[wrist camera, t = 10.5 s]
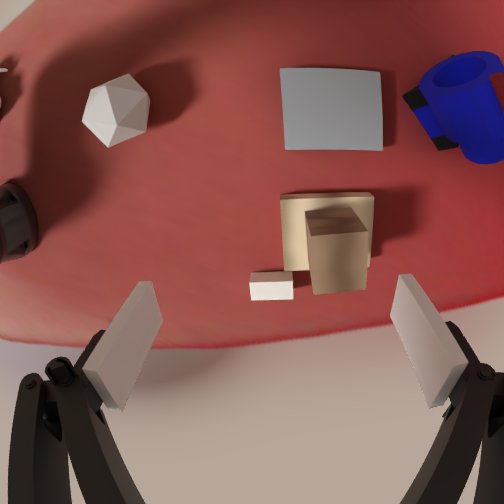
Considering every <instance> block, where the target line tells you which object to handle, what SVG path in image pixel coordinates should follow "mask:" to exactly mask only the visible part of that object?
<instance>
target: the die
mask: <svg viewBox="0 0 504 504" xmlns="http://www.w3.org/2000/svg"><path fill="white" fill-rule="evenodd" d="M149 108H150V98H149V96H148V94H147V92H146V91H145V90H144V89H143V88H142V87H141V86H140V85H139V84H138V83H137V82H136V81H135V80H134V79H133V77H132V76H131V75H130V74H129V73H128V74H126V75H123V76H121V77H118V78H116V79H113V80H111V81H109V82H106V83H104V84H102V85H100V86H97V87H95V88H93V89H91V91H90V94H89V97H88V101H87V104H86V107H85V111H84V115H83V118H82V122H83V123H84V124H85V125H86V126H87V127H88V128H89V129H90V130H91V131H92V132H93V133H94V134H95V135H96V136H97V137H98V138H99V139H100V140H101V141H102V142H103V143H104V144H105V145H106V146H107V147H108V148H109V147H111V146H113V145H115V144H118V143H120V142H122V141H125V140H127V139H130V138H132V137H135V136H137V135H140V134H142V133H145V132H146V129H147V122H148V114H149Z"/></svg>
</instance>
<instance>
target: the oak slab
mask: <svg viewBox="0 0 504 504" xmlns="http://www.w3.org/2000/svg"><path fill="white" fill-rule="evenodd" d="M280 205H281V221H282V238H283V257H284V271H298V270H310V269H309V264H308V252H307V237H306V224H305V211H314V210H326V209H338V208H352V209H353V211H354V212H355V213H356V215H357V216H358V217H359V219H360V220H361V222H362V223H363V224H364V226H365V227H366V228H367V230H368V262H367V267H369V266H370V256H371V244H372V231H373V215H374V196H373V195H372V194H371V193H370V192H340V193H308V194H286V195H280Z"/></svg>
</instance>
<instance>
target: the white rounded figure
mask: <svg viewBox="0 0 504 504" xmlns="http://www.w3.org/2000/svg"><path fill="white" fill-rule="evenodd" d="M7 71H8V69H5V68H0V72H7ZM0 108H1V97H0Z"/></svg>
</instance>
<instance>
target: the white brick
mask: <svg viewBox="0 0 504 504" xmlns="http://www.w3.org/2000/svg"><path fill="white" fill-rule="evenodd" d="M249 284H250V293H251V300H283V299H293V275H292V271H282V272H252V273H251V277H250V282H249Z"/></svg>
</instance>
